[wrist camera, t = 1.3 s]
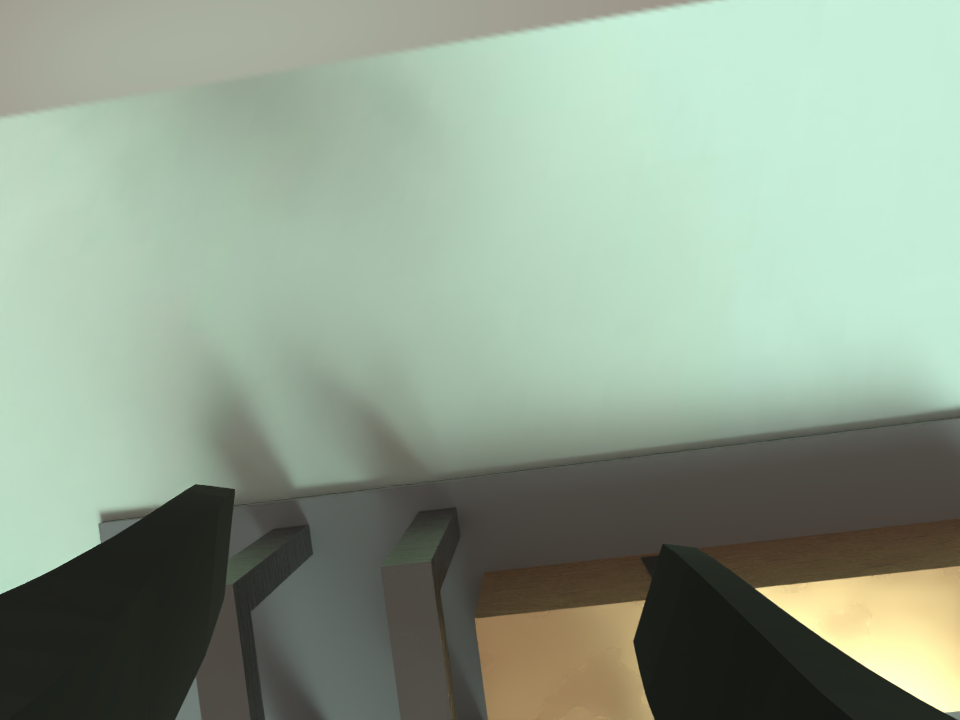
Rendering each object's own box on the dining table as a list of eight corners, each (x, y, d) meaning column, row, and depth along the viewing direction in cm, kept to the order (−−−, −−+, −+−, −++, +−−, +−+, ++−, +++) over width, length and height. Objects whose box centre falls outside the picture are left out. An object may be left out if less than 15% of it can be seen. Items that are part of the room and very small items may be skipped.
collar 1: (309, 524, 29) (232, 583, 21) (341, 768, 29) (276, 913, 21) (273, 528, 29) (184, 589, 22) (305, 771, 29) (228, 916, 22)
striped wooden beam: (1008, 512, 27) (1118, 548, 22) (1024, 632, 27) (1137, 695, 22) (484, 571, 28) (474, 618, 23) (499, 685, 28) (492, 756, 23)
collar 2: (456, 506, 29) (430, 561, 21) (489, 754, 29) (475, 896, 21) (419, 511, 29) (380, 567, 21) (452, 758, 29) (424, 901, 21)
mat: (1057, 405, 27) (1065, 406, 27) (1099, 718, 27) (1107, 723, 27) (104, 521, 30) (98, 523, 30) (142, 807, 30) (136, 813, 30)
